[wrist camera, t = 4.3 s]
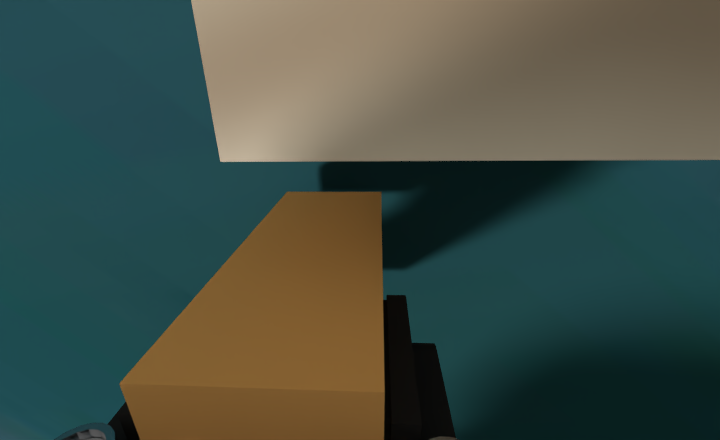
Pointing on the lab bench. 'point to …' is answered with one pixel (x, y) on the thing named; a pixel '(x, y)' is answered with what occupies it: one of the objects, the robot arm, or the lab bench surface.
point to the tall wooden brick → (277, 334)
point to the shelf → (462, 79)
